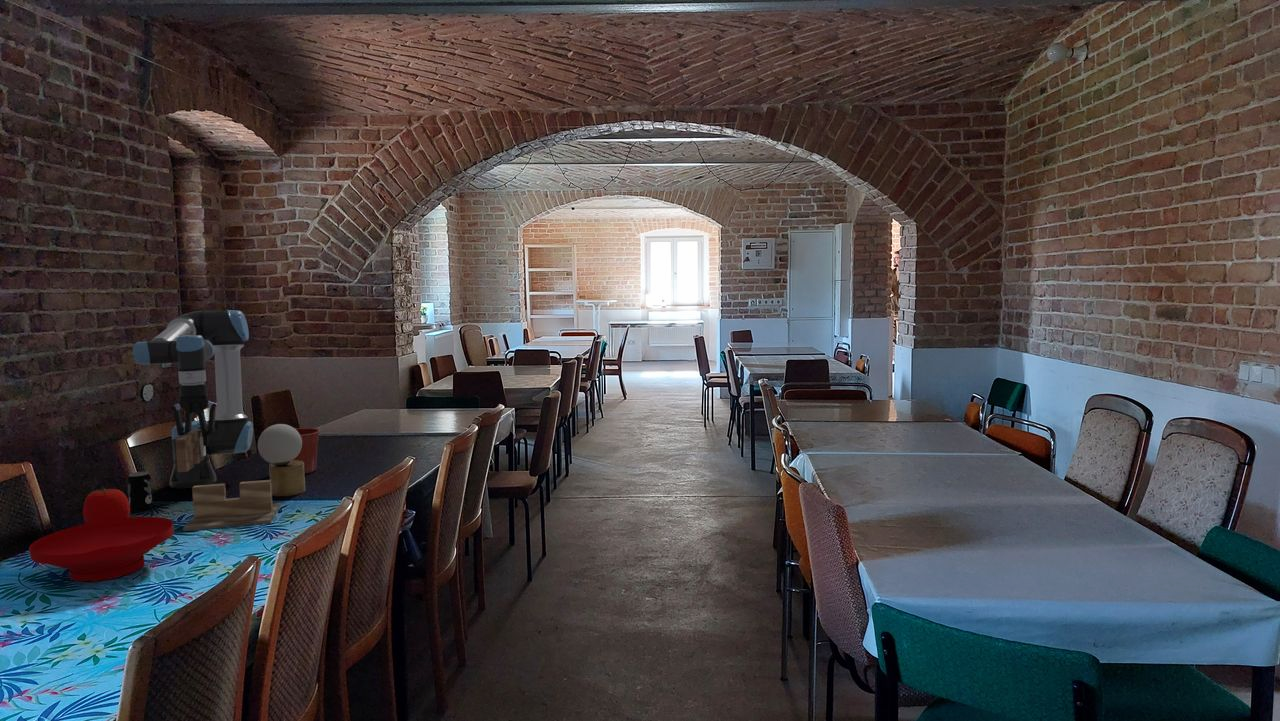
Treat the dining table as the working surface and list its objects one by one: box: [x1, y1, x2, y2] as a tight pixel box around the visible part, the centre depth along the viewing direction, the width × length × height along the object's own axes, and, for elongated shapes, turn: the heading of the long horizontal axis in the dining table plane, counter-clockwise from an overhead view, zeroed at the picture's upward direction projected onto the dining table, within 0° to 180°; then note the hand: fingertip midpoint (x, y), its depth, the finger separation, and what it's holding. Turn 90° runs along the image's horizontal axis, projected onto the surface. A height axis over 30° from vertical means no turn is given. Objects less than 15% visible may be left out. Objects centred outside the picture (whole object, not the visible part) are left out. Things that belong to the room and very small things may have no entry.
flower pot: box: [293, 427, 321, 475], centre depth 305 cm, size 16×16×16 cm
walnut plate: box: [175, 429, 204, 472], centre depth 241 cm, size 18×2×10 cm, turn 15°
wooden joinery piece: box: [182, 479, 281, 532], centre depth 244 cm, size 20×24×11 cm
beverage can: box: [126, 471, 154, 512], centre depth 256 cm, size 7×7×12 cm
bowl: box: [28, 516, 175, 582], centre depth 199 cm, size 30×30×10 cm
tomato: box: [82, 487, 131, 524], centre depth 230 cm, size 13×11×14 cm
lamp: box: [257, 423, 306, 498], centre depth 271 cm, size 15×14×25 cm
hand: (197, 456), depth 248 cm, fingers closed on walnut plate, 2 cm apart
